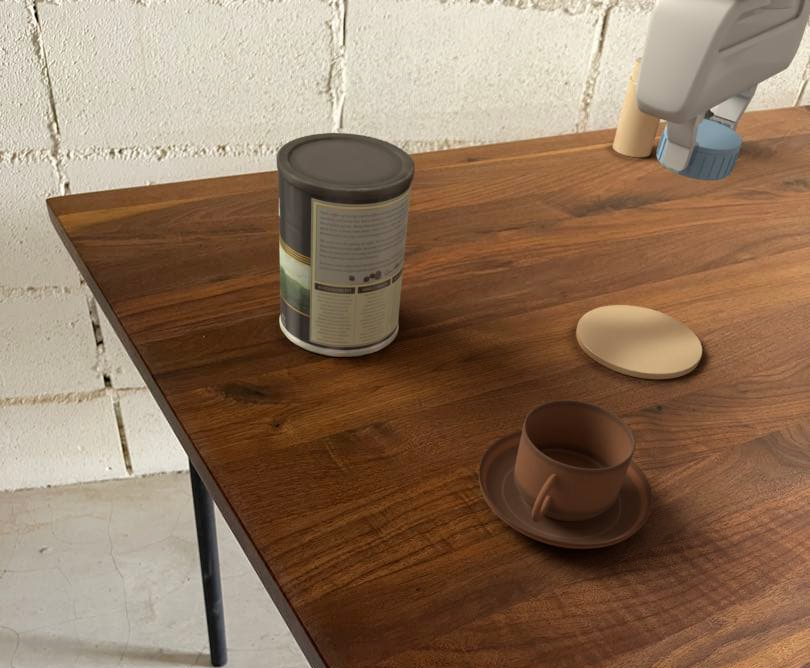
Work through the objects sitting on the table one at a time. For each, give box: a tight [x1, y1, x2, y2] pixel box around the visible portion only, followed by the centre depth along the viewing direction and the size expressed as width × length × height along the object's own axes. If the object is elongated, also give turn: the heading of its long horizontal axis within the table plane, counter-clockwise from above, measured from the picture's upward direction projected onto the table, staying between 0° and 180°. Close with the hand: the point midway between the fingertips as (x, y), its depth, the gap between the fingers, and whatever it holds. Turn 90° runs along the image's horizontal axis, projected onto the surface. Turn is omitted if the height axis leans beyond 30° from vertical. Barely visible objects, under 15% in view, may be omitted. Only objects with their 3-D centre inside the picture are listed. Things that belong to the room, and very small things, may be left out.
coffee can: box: [275, 132, 416, 358], centre depth 71 cm, size 10×10×14 cm
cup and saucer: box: [478, 399, 654, 550], centre depth 60 cm, size 12×12×6 cm
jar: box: [612, 56, 661, 158], centre depth 107 cm, size 5×5×10 cm
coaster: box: [575, 304, 703, 380], centre depth 78 cm, size 11×11×1 cm
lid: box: [655, 119, 743, 181], centre depth 66 cm, size 6×6×2 cm
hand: (696, 154), depth 66 cm, fingers closed on lid, 5 cm apart
